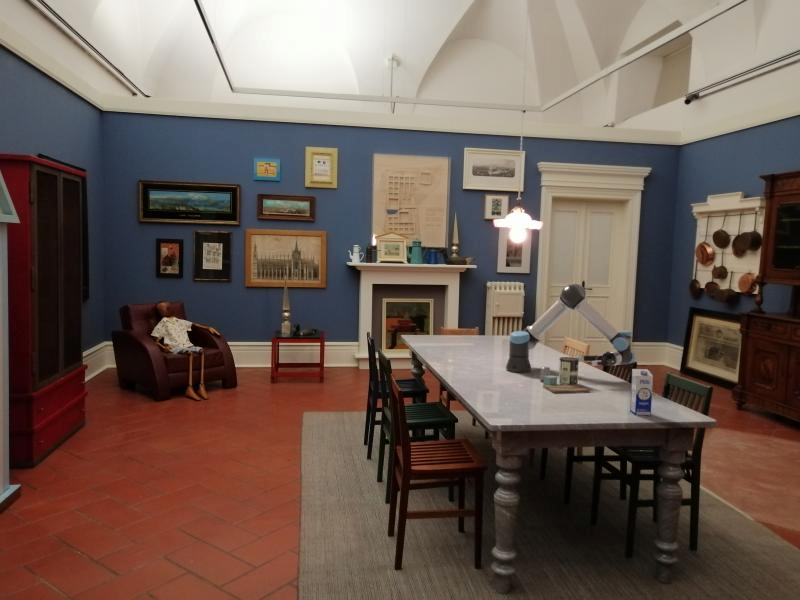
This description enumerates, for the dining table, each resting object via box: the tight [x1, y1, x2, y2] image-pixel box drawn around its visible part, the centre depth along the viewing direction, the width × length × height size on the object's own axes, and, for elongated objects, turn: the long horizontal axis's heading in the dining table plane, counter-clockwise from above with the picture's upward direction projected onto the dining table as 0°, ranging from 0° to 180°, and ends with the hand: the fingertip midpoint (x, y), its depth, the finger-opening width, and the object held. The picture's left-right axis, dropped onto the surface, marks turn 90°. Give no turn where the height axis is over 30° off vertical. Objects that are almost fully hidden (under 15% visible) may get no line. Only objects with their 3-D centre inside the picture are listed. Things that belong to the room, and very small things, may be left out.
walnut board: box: [542, 384, 590, 394], centre depth 303 cm, size 13×20×1 cm, turn 101°
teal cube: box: [542, 374, 558, 386], centre depth 313 cm, size 5×5×5 cm
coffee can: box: [558, 356, 579, 385], centre depth 318 cm, size 10×10×14 cm
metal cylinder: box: [539, 366, 551, 384], centre depth 322 cm, size 5×5×8 cm
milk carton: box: [629, 368, 654, 417], centre depth 260 cm, size 7×7×20 cm
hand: (583, 361), depth 321 cm, fingers open, 13 cm apart
